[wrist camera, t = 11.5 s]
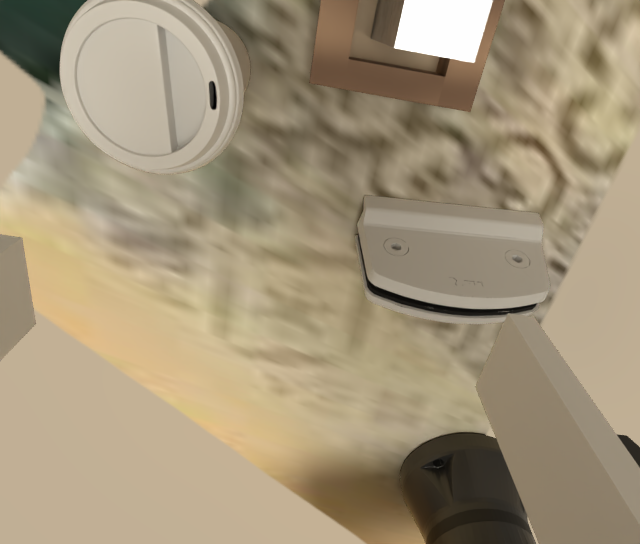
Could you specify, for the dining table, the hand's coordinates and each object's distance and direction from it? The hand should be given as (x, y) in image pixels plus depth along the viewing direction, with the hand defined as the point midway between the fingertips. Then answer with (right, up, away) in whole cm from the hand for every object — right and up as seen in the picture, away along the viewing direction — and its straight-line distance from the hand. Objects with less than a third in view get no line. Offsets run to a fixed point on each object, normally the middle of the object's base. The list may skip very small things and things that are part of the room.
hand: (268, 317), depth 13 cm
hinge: (+13, +4, +31) cm, 33 cm away
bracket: (+8, +22, +20) cm, 31 cm away
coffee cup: (-7, +18, +23) cm, 30 cm away
